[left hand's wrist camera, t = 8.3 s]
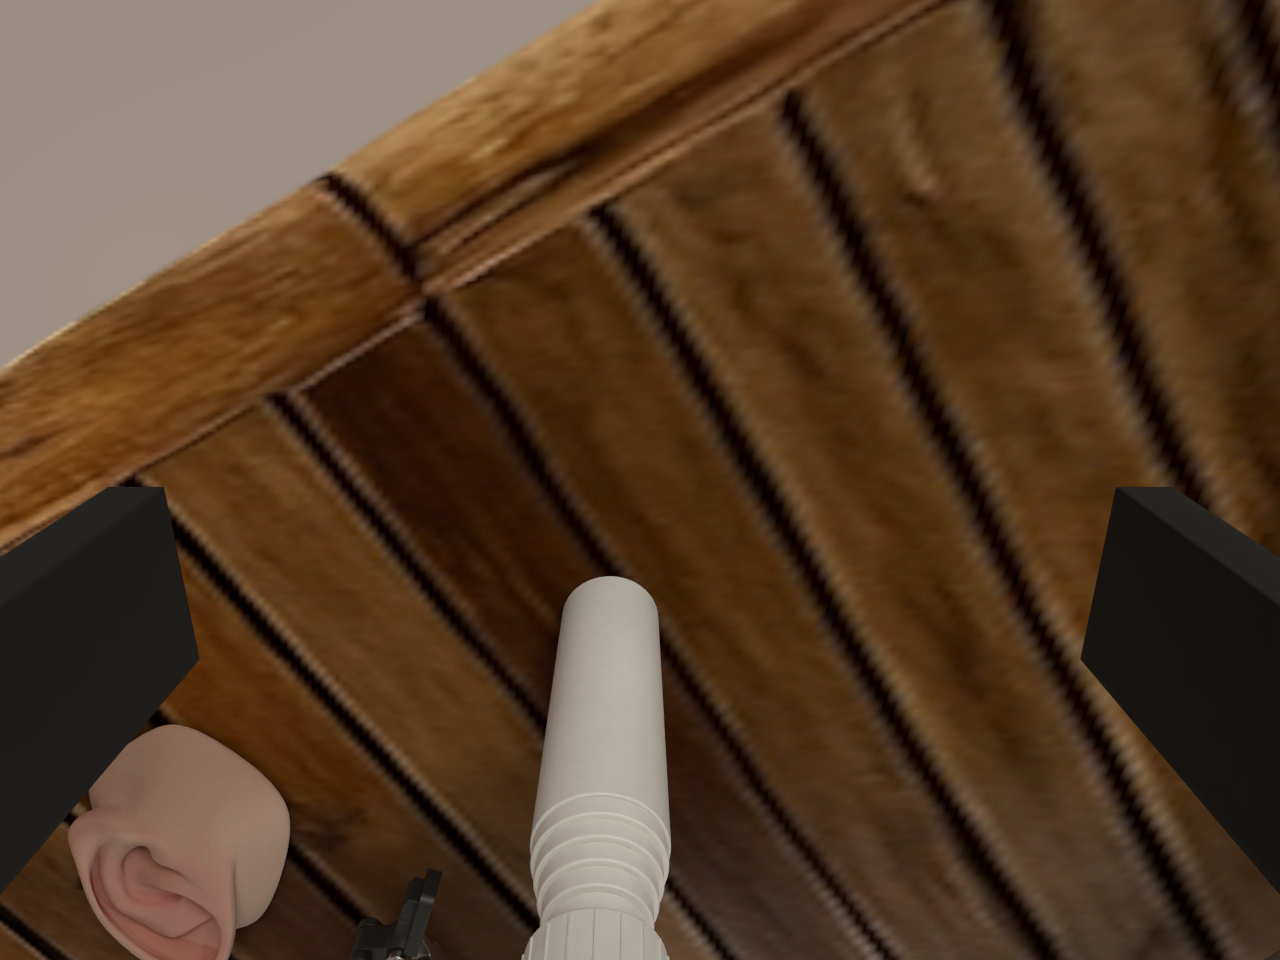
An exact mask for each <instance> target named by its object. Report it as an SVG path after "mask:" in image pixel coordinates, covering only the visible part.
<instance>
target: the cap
mask: <svg viewBox="0 0 1280 960" xmlns="http://www.w3.org/2000/svg"><path fill="white" fill-rule="evenodd" d="M521 960H669V956H667V953H666V949H665V946H664V944H663V942H662V940H661V938H660V937H659V936H658V934H657V933H656V932H655V931H654V930H653V929H652V928H651V927H650V926H649V925H647V924H646V923H645V922H643V921H642V920H640V919H638V918H637V917H635V916H632V915H630V914H628V913H624V912H621V911H618V910H613V909H606V908H585V909H578V910H573V911H569V912H566V913H563V914H560V915H558V916H556V917H554V918H552V919H550V920H549V921H547V922H546V923H544V924H543V925H542V926H541V927H540V928H539V929H538V930H537V931H536V932H535V933H534V934H533V936H532V937H531V938H530V940H529V942H528V944H527V946H526V949H525V953H524V954H522V959H521Z"/></svg>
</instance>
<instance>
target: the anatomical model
mask: <svg viewBox="0 0 1280 960" xmlns="http://www.w3.org/2000/svg"><path fill="white" fill-rule="evenodd" d="M89 796H90V802H91V806H92V810H91V811H89V812H86V813H84V814H83V815H81V816H80V817H78V818H77V819H76V820H75V821H74V822H73V824H72V825H71V827H70V828H69V831H68V841H69V846H70V849H71V852H72V855H73V858H74V861H75V864H76V867H77V870H78V873H79V876H80V879H81V882H82V885H83V888H84V891H85V894H86V896H87V899H88V901H89V903H90V905H91V907H92V909H93V911H94V913H95V914H96V916H97V918H98V919H99V921H100V922H101V923H102V925H103V926H104V927H105V928H106V930H107V931H108V932H109V933H110V934H111V935H112V936H113V937H114V938H115V939H116V940H117V941H118V942H119V943H120V944H122V945H123V946H124V947H125V948H126V949H128V950H129V951H130V952H131V953H132V954H134V955H135V956H136V957H138V958H139V959H141V960H228V959H229V957H230V954H231V951H232V948H233V943H234V939H235V933H236V929H237V928H241V927H245V926H248V925H250V924H252V923H253V922H255V921H256V920H258V919H259V918H260V917H261V916H262V915H263V913H264V912H265V911H266V909H267V907H268V906H269V904H270V902H271V900H272V898H273V896H274V893H275V891H276V888H277V886H278V883H279V880H280V877H281V874H282V870H283V867H284V863H285V859H286V855H287V850H288V845H289V837H290V817H289V812H288V809H287V806H286V804H285V801H284V800H283V798H282V796H281V795H280V793H279V792H278V790H277V789H276V788H275V787H274V785H273V784H272V783H271V782H270V781H269V780H268V779H267V778H266V777H265V776H264V775H263V774H262V773H261V772H259V771H258V770H257V769H256V768H255V767H254V766H252V765H251V764H250V763H249V762H247V761H246V760H245V759H243V758H242V757H240V756H239V755H238V754H236V753H235V752H233V751H232V750H230V749H229V748H227V747H226V746H224V745H223V744H221V743H219V742H218V741H216V740H214V739H212V738H211V737H209V736H207V735H205V734H203V733H201V732H199V731H197V730H195V729H192V728H189V727H186V726H181V725H165V726H161V727H158V728H155V729H153V730H151V731H149V732H147V733H145V734H143V735H141V736H140V737H138V738H137V739H135V740H133V741H132V742H130V743H129V744H127V745H126V747H125V748H124V749H123V750H122V751H121V753H120V754H119V755H118V756H117V757H116V758H115V760H114V761H113V762H112V763H111V764H110V766H109V767H108V768H107V769H106V770H105V771H104V773H103V774H102V775H101V776H100V777H99V779H98V780H97V781H96V782H95V783H94V784H93V786H92V787H91V788H90V789H89Z"/></svg>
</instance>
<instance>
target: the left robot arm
mask: <svg viewBox="0 0 1280 960" xmlns="http://www.w3.org/2000/svg"><path fill="white" fill-rule="evenodd" d="M198 660H199V654H198V649H197V644H196V640H195V635H194V630H193V625H192V620H191V616H190V611H189V606H188V601H187V596H186V592H185V587H184V582H183V577H182V572H181V567H180V563H179V558H178V553H177V548H176V543H175V539H174V534H173V529H172V524H171V519H170V514H169V510H168V505H167V500H166V495H165V490H164V487H108V488H106V489H105V490H103V491H101V492H100V493H98V494H97V495H95V496H94V497H92V498H91V499H89V500H88V501H86V502H85V503H83V504H82V505H80V506H79V507H77V508H75V509H74V510H72V511H71V512H69V513H68V514H66V515H65V516H63V517H62V518H60V519H59V520H57V521H56V522H54V523H53V524H51V525H49V526H48V527H46V528H45V529H43V530H42V531H40V532H39V533H37V534H36V535H34V536H33V537H31V538H30V539H28V540H27V541H25V542H23V543H22V544H20V545H19V546H17V547H16V548H14V549H13V550H11V551H10V552H8V553H7V554H5V555H4V556H2V557H1V558H0V894H1V893H2V892H3V891H4V889H5V888H6V887H7V886H8V885H9V884H10V882H11V881H12V880H13V879H14V878H15V876H16V875H17V874H18V873H19V872H20V871H21V869H22V868H23V867H24V866H25V865H26V864H27V862H28V861H29V860H30V859H31V858H32V856H33V855H34V854H35V853H36V852H37V851H38V849H39V848H40V847H41V846H42V845H43V843H44V842H45V841H46V840H47V839H48V838H49V836H50V835H51V834H52V833H53V832H54V830H55V829H56V828H57V827H58V826H59V825H60V823H61V822H62V821H63V820H64V819H65V817H66V816H67V815H68V814H69V813H70V812H71V810H72V809H73V808H74V807H75V806H76V804H77V803H78V802H79V801H80V800H81V799H82V797H83V796H84V795H85V794H86V793H87V792H88V790H89V789H90V788H91V787H92V786H93V784H94V783H95V782H96V781H97V780H98V779H99V777H100V776H101V775H102V774H103V773H104V771H105V770H106V769H107V768H108V767H109V766H110V764H111V763H112V762H113V761H114V760H115V758H116V757H117V756H118V755H119V754H120V753H121V751H122V750H123V749H124V748H125V747H126V745H127V744H128V743H129V742H130V741H131V740H132V738H133V737H134V736H135V735H136V734H137V732H138V731H139V730H140V729H141V728H142V727H143V725H144V724H145V723H146V722H147V721H148V719H149V718H150V717H151V716H152V715H153V714H154V712H155V711H156V710H157V709H158V708H159V707H160V705H161V704H162V703H163V702H164V701H165V699H166V698H167V697H168V696H169V695H170V694H171V692H172V691H173V690H174V689H175V688H176V686H177V685H178V684H179V683H180V682H181V681H182V679H183V678H184V677H185V676H186V675H187V673H188V672H189V671H190V670H191V669H192V668H193V666H194V665H195V664H196V663H197V662H198ZM1081 660H1082V662H1083V663H1084V664H1085V665H1086V666H1087V668H1088V669H1089V670H1090V671H1091V672H1092V673H1093V675H1094V676H1095V677H1096V678H1097V679H1098V681H1099V682H1100V683H1101V684H1102V685H1103V686H1104V688H1105V689H1106V690H1107V691H1108V692H1109V694H1110V695H1111V696H1112V697H1113V698H1114V699H1115V701H1116V702H1117V703H1118V704H1119V705H1120V707H1121V708H1122V709H1123V710H1124V711H1125V712H1126V714H1127V715H1128V716H1129V717H1130V718H1131V720H1132V721H1133V722H1134V723H1135V724H1136V725H1137V727H1138V728H1139V729H1140V730H1141V731H1142V732H1143V734H1144V735H1145V736H1146V737H1147V738H1148V740H1149V741H1150V742H1151V743H1152V744H1153V745H1154V747H1155V748H1156V749H1157V750H1158V751H1159V753H1160V754H1161V755H1162V756H1163V757H1164V758H1165V760H1166V761H1167V762H1168V763H1169V764H1170V766H1171V767H1172V768H1173V769H1174V770H1175V771H1176V773H1177V774H1178V775H1179V776H1180V777H1181V779H1182V780H1183V781H1184V782H1185V783H1186V784H1187V786H1188V787H1189V788H1190V789H1191V790H1192V792H1193V793H1194V794H1195V795H1196V796H1197V797H1198V799H1199V800H1200V801H1201V802H1202V803H1203V804H1204V806H1205V807H1206V808H1207V809H1208V810H1209V812H1210V813H1211V814H1212V815H1213V816H1214V817H1215V819H1216V820H1217V821H1218V822H1219V823H1220V825H1221V826H1222V827H1223V828H1224V829H1225V830H1226V832H1227V833H1228V834H1229V835H1230V836H1231V838H1232V839H1233V840H1234V841H1235V842H1236V843H1237V845H1238V846H1239V847H1240V848H1241V849H1242V851H1243V852H1244V853H1245V854H1246V855H1247V856H1248V858H1249V859H1250V860H1251V861H1252V862H1253V864H1254V865H1255V866H1256V867H1257V868H1258V869H1259V871H1260V872H1261V873H1262V874H1263V875H1264V876H1265V878H1266V879H1267V880H1268V881H1269V882H1270V884H1271V885H1272V886H1273V887H1274V888H1275V889H1276V891H1277V892H1278V893H1279V894H1280V558H1279V557H1278V556H1276V555H1275V554H1273V553H1272V552H1270V551H1269V550H1267V549H1266V548H1264V547H1263V546H1261V545H1260V544H1258V543H1257V542H1255V541H1253V540H1252V539H1250V538H1249V537H1247V536H1246V535H1244V534H1243V533H1241V532H1240V531H1238V530H1237V529H1235V528H1234V527H1232V526H1231V525H1229V524H1227V523H1226V522H1224V521H1223V520H1221V519H1220V518H1218V517H1217V516H1215V515H1214V514H1212V513H1211V512H1209V511H1208V510H1206V509H1205V508H1203V507H1201V506H1200V505H1198V504H1197V503H1195V502H1194V501H1192V500H1191V499H1189V498H1188V497H1186V496H1185V495H1183V494H1182V493H1180V492H1179V491H1177V490H1175V489H1174V488H1172V487H1116V490H1115V495H1114V500H1113V505H1112V510H1111V514H1110V519H1109V524H1108V529H1107V534H1106V539H1105V543H1104V548H1103V553H1102V558H1101V563H1100V567H1099V572H1098V577H1097V582H1096V587H1095V592H1094V596H1093V601H1092V606H1091V611H1090V616H1089V620H1088V625H1087V630H1086V635H1085V640H1084V644H1083V649H1082V654H1081ZM1264 960H1280V951H1278V952H1276V953H1275V954H1273V955H1271V956H1269V957H1268V958H1266V959H1264Z"/></svg>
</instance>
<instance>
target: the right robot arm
mask: <svg viewBox="0 0 1280 960" xmlns="http://www.w3.org/2000/svg"><path fill="white" fill-rule="evenodd" d="M441 873H442V872H440V871H436V870H432V869H428V871H427V875H426V878H425V879H421V878H417V877H415V878H414V879H413V880H412V881H411V882H410V883H409V885H408V889H407V892H406V895H405V899H404V902H403V905H402V909H401V912H400V915H399V918H398V920H397V921H396V922H395V923H393V924H390V925H382V923H381V922H380V921H379V920H378V919H376V918H372V917H368V918H364V919H362V920H361V921H360V923H359V926H358V929H357V933H356V938H355V941H354V944H353V947H352V949H351V952H350V954H349V955H348V958H347V960H447V958H446V957H445V955H444V953H443V951H442V950H441V948H440V946H439V945H438V943H437V942H433V943H430V941H429V939H428V938H427V936H426V934H425V929H426V926H427V923H428V920H429V917H430V914H431V910H432V907H433V904H434V900H435V897H436V893H437V889H438V885H439V881H440V877H441Z"/></svg>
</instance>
